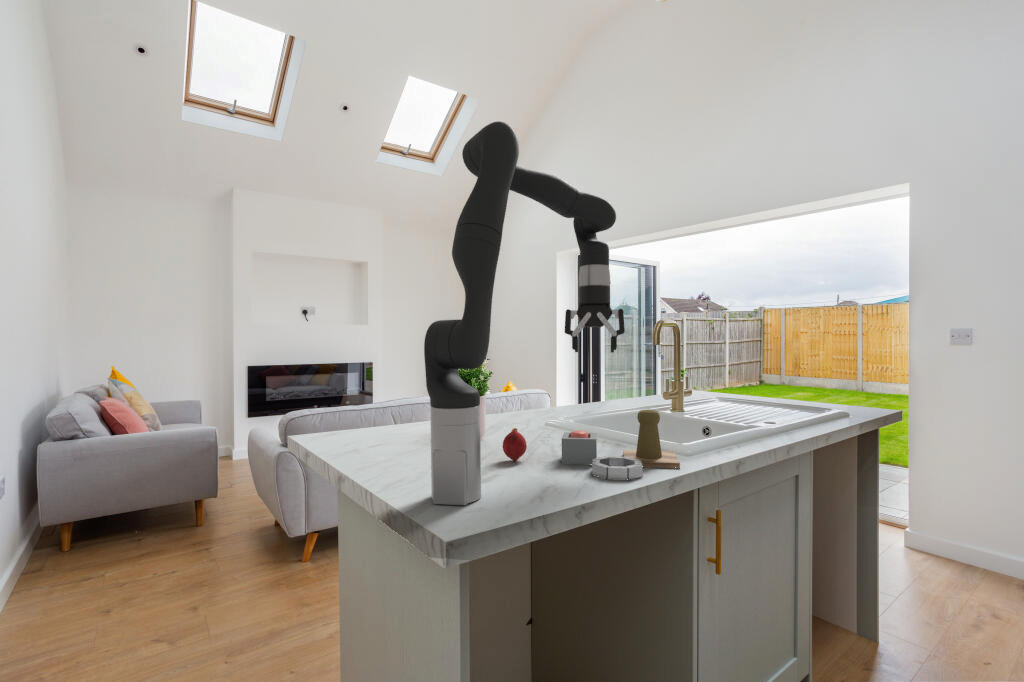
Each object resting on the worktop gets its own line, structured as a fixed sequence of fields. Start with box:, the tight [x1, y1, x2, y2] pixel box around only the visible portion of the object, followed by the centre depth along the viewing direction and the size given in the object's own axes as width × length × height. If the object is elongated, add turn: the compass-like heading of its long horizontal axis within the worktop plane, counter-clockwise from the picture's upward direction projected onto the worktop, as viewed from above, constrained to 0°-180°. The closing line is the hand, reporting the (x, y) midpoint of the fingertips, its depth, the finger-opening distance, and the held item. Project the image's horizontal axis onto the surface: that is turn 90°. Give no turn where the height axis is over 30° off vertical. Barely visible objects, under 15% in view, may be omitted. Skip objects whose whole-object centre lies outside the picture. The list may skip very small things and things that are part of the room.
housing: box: [561, 431, 598, 465], centre depth 121 cm, size 8×8×6 cm
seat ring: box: [591, 455, 644, 481], centre depth 110 cm, size 10×10×2 cm
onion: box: [502, 427, 528, 462], centre depth 122 cm, size 6×6×8 cm
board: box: [622, 449, 681, 469], centre depth 120 cm, size 12×12×1 cm
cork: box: [636, 409, 662, 459], centre depth 120 cm, size 6×6×11 cm
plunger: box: [570, 430, 589, 438], centre depth 121 cm, size 4×4×6 cm
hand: (594, 352), depth 122 cm, fingers open, 8 cm apart
